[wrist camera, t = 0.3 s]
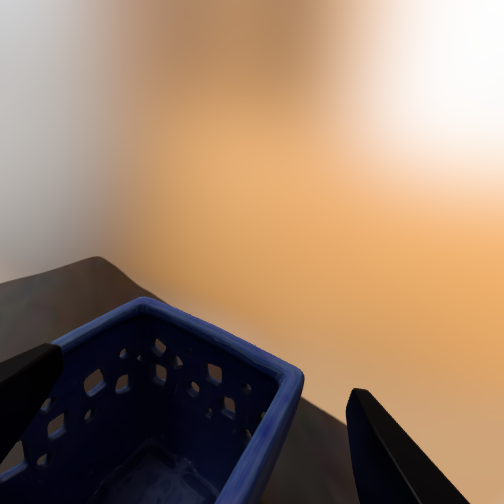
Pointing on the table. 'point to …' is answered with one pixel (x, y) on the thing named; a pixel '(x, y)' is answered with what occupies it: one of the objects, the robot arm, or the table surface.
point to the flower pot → (157, 416)
